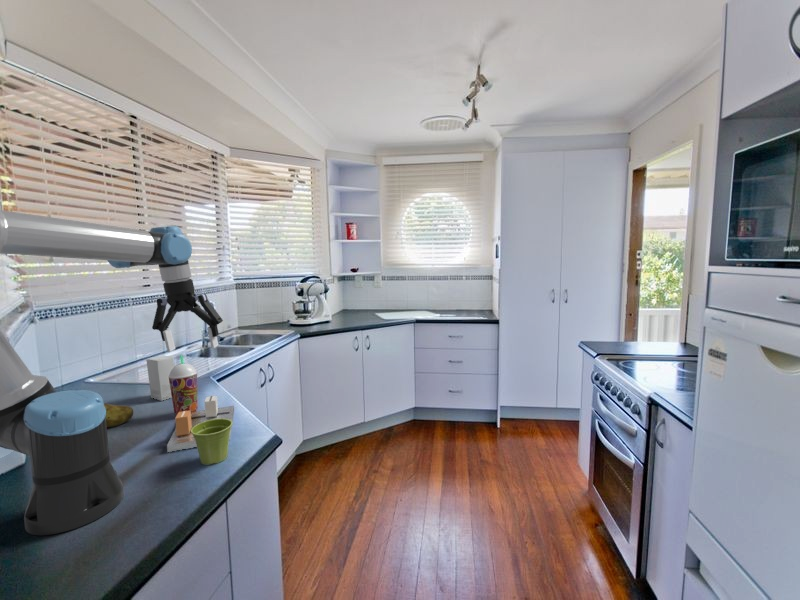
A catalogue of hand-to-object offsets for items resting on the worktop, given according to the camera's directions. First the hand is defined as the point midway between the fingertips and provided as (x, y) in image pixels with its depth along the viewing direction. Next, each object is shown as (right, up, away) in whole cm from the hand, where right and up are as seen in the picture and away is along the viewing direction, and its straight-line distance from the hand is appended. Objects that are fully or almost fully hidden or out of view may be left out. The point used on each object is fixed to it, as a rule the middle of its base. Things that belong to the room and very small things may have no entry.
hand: (193, 348), depth 114 cm
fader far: (+3, -21, +5) cm, 22 cm away
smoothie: (-9, -24, +12) cm, 28 cm away
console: (+4, -24, -1) cm, 25 cm away
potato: (-28, -25, +4) cm, 38 cm away
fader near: (+2, -22, -8) cm, 24 cm away
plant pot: (+16, -26, -19) cm, 36 cm away
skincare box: (-28, -23, +29) cm, 46 cm away
